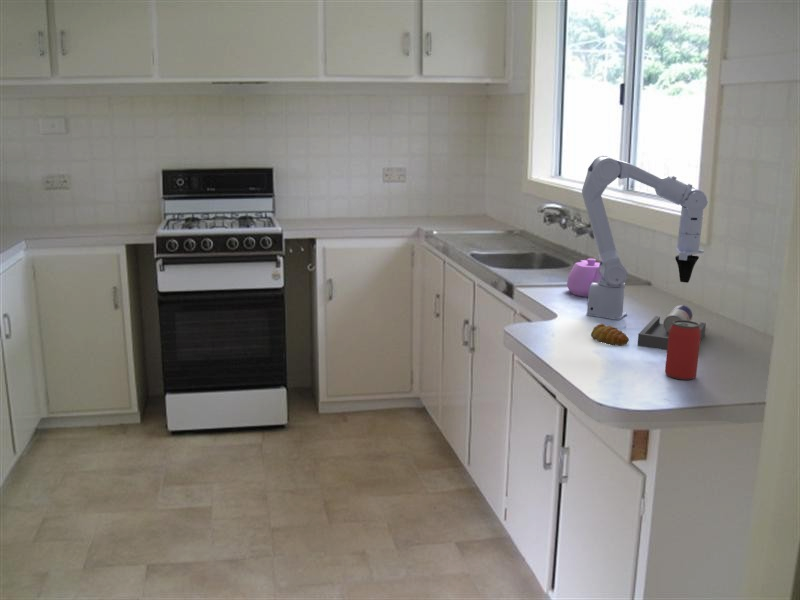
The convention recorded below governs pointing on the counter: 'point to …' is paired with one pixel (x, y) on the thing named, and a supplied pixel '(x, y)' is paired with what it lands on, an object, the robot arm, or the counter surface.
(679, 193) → the robot arm
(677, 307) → the energy drink
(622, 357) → the counter surface
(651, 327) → the tray
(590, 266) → the teapot
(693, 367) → the beer can
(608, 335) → the pastry
